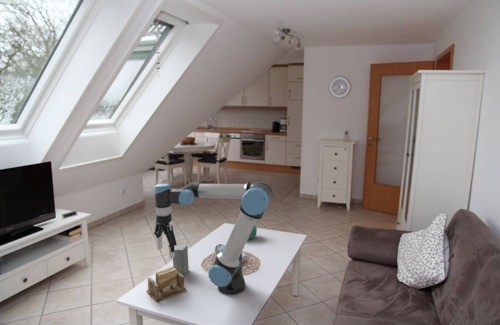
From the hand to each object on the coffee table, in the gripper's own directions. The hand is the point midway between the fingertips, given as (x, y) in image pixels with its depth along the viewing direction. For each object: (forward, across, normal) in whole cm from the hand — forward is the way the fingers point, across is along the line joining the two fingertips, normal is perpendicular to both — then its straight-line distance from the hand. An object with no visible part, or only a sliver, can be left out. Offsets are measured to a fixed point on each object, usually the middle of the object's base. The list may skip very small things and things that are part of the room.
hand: (165, 253), depth 176 cm
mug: (+22, +27, -78) cm, 85 cm away
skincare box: (+22, +14, -16) cm, 30 cm away
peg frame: (+22, +1, 0) cm, 22 cm away
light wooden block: (+18, 0, 0) cm, 18 cm away
